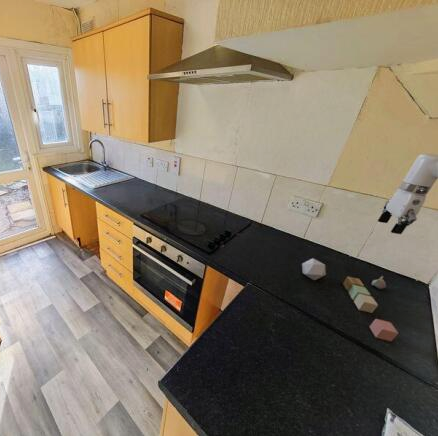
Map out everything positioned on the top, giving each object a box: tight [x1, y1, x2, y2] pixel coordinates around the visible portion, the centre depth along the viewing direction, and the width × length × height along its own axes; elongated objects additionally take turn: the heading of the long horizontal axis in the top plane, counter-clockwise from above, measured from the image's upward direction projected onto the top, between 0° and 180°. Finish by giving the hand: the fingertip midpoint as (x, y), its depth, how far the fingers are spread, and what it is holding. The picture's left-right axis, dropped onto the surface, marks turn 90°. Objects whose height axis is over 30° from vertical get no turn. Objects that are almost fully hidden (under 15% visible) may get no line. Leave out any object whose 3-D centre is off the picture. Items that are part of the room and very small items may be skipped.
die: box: [301, 257, 327, 281], centre depth 103 cm, size 8×9×10 cm
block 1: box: [342, 276, 365, 292], centre depth 98 cm, size 4×4×4 cm
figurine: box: [371, 275, 387, 290], centre depth 99 cm, size 5×4×6 cm
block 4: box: [369, 318, 399, 342], centre depth 78 cm, size 4×4×4 cm
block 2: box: [347, 285, 371, 301], centre depth 93 cm, size 4×4×4 cm
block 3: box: [353, 294, 379, 314], centre depth 89 cm, size 4×4×4 cm
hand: (388, 227), depth 93 cm, fingers open, 9 cm apart
